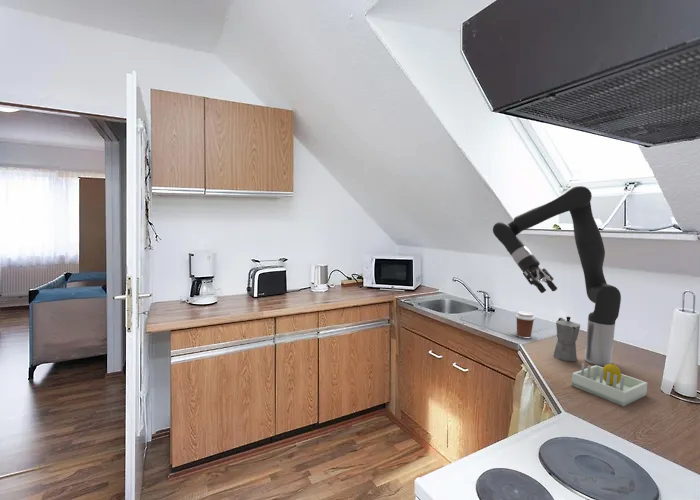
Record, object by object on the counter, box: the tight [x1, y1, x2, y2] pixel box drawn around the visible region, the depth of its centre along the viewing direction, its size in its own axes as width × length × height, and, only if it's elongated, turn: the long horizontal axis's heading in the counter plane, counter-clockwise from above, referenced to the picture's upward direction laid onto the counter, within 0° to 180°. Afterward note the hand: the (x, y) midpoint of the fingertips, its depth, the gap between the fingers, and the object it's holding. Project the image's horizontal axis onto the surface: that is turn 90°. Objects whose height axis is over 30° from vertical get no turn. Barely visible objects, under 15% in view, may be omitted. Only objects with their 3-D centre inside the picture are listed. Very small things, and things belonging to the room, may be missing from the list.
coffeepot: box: [553, 316, 581, 362], centre depth 153 cm, size 15×9×18 cm, turn 171°
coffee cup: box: [514, 310, 536, 338], centre depth 180 cm, size 9×9×12 cm
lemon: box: [602, 362, 622, 386], centre depth 124 cm, size 6×6×8 cm
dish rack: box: [571, 363, 648, 407], centre depth 123 cm, size 16×16×8 cm
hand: (549, 291), depth 143 cm, fingers open, 8 cm apart
